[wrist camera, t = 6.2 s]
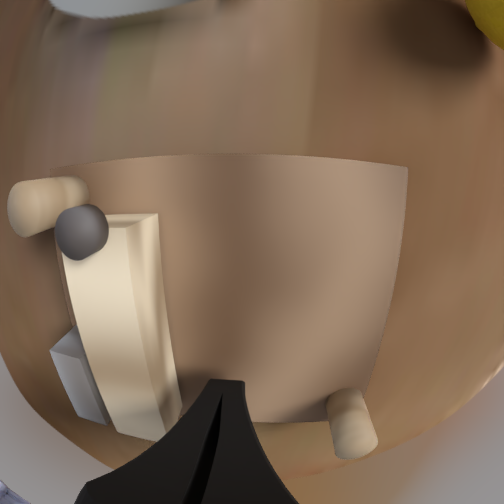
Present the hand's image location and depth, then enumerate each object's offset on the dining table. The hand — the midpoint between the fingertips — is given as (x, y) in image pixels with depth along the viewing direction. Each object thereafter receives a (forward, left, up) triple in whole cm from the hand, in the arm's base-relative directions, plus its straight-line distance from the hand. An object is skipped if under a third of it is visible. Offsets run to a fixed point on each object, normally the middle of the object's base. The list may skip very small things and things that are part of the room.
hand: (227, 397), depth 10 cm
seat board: (-1, +3, -2) cm, 4 cm away
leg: (-4, +3, -1) cm, 5 cm away
